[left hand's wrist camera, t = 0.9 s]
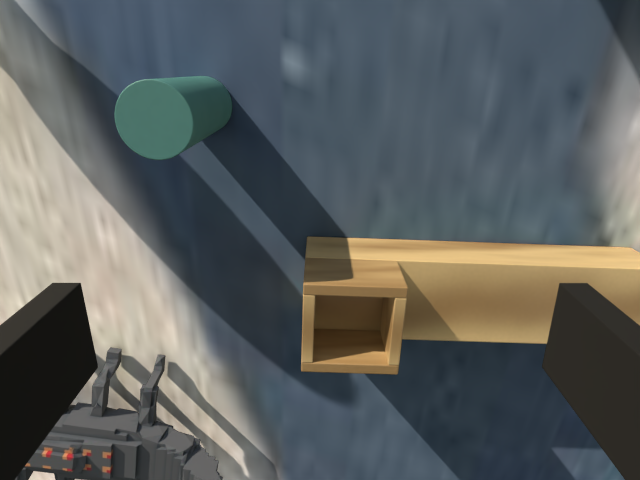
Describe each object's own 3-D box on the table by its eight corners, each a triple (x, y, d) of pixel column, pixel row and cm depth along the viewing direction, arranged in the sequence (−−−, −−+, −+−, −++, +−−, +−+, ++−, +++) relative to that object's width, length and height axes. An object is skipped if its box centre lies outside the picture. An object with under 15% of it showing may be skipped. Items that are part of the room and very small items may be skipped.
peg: (175, 74, 30) (109, 77, 20) (231, 77, 30) (191, 80, 20) (179, 131, 31) (118, 158, 22) (233, 133, 31) (195, 161, 22)
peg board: (307, 236, 34) (303, 284, 26) (630, 247, 34) (719, 298, 26) (304, 308, 36) (301, 372, 28) (609, 318, 36) (686, 383, 28)
